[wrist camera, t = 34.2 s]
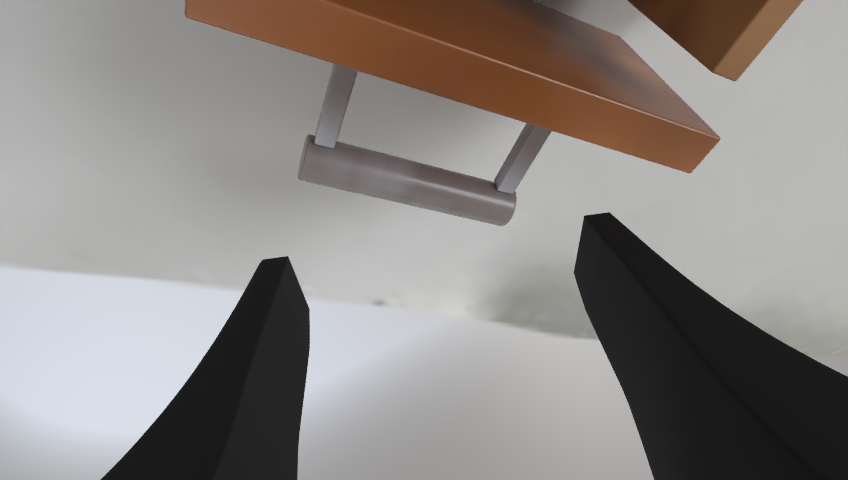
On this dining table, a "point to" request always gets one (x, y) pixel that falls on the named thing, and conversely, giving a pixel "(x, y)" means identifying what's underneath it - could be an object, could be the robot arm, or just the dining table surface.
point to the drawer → (501, 81)
